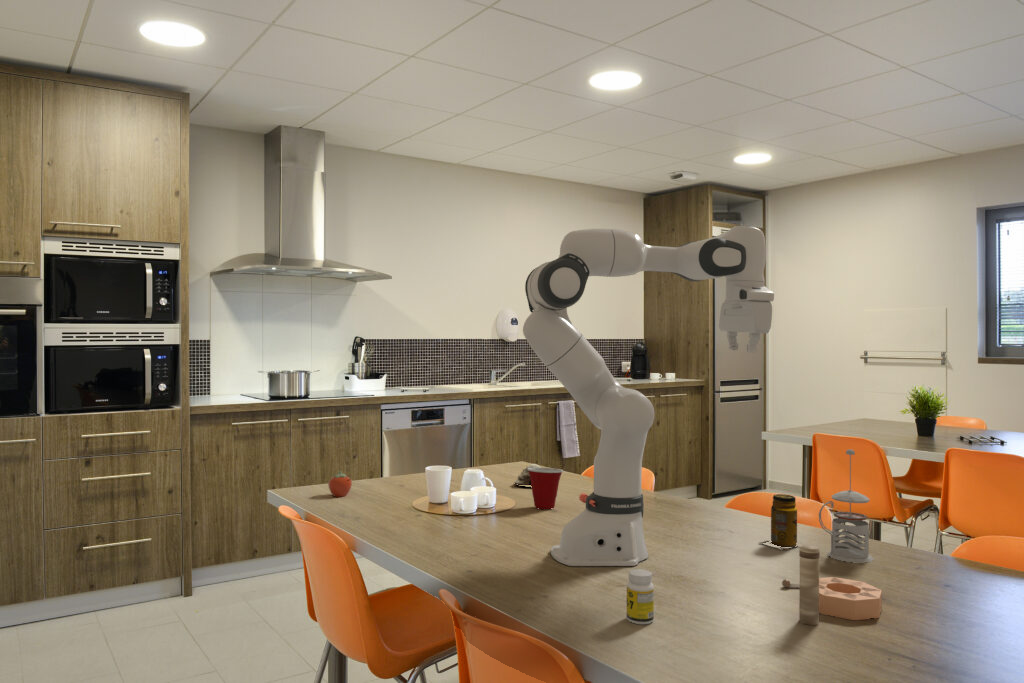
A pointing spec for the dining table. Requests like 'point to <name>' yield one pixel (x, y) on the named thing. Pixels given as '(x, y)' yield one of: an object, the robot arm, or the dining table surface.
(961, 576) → the dining table surface
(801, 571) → the needle dowel
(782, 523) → the condiment
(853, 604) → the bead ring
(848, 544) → the french press
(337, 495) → the tomato
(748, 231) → the robot arm
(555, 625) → the dining table surface
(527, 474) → the grey rounded lump
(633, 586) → the supplement bottle
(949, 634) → the dining table surface
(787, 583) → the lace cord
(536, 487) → the plastic cup
